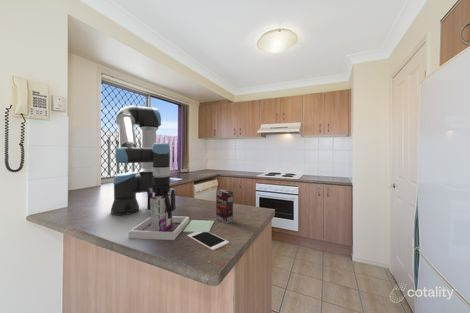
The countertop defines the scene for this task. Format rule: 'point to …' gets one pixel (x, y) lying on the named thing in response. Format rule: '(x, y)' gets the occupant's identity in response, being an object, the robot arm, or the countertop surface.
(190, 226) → the mat
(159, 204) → the candy bar box
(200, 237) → the cell phone
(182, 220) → the tray
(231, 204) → the supplement box
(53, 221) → the countertop surface
